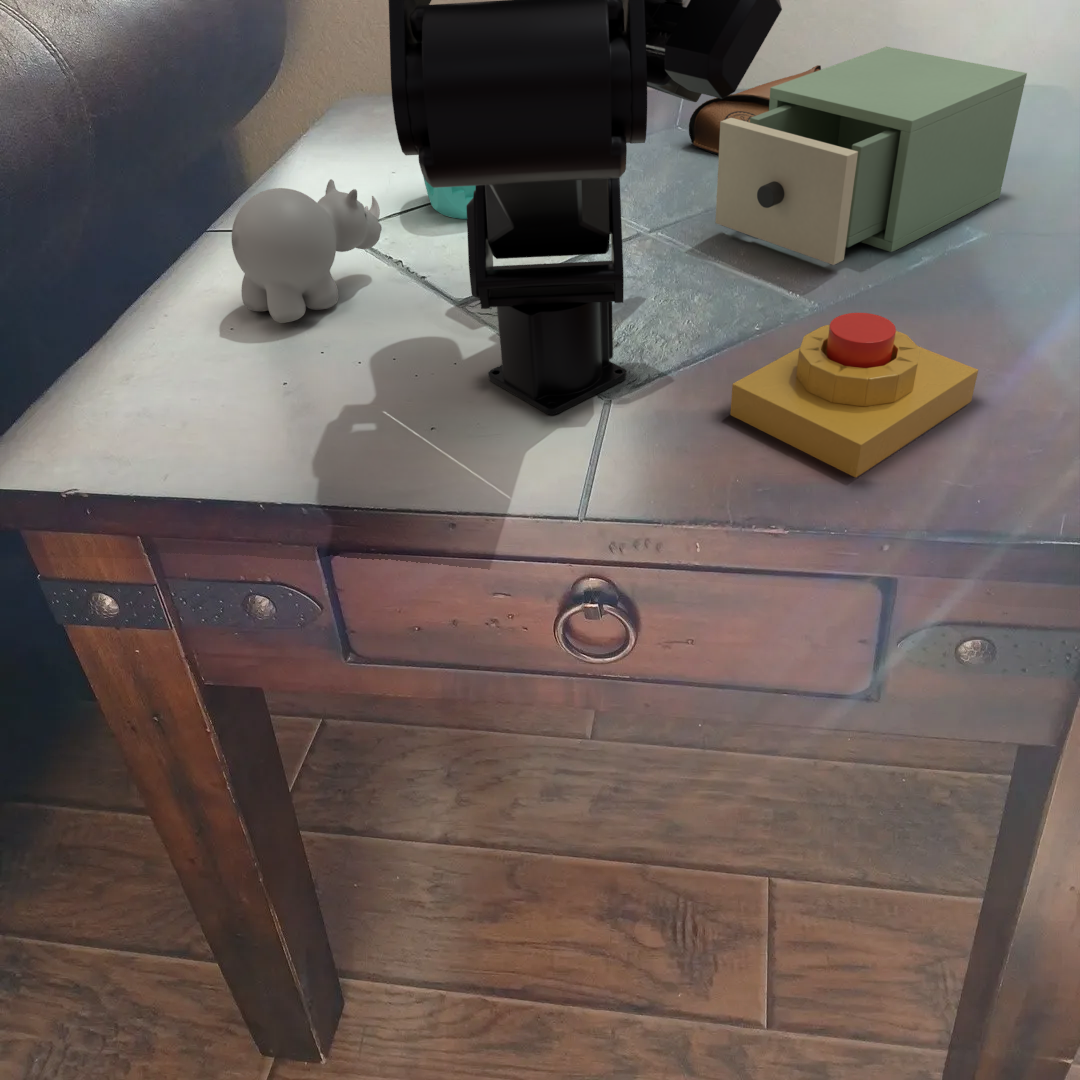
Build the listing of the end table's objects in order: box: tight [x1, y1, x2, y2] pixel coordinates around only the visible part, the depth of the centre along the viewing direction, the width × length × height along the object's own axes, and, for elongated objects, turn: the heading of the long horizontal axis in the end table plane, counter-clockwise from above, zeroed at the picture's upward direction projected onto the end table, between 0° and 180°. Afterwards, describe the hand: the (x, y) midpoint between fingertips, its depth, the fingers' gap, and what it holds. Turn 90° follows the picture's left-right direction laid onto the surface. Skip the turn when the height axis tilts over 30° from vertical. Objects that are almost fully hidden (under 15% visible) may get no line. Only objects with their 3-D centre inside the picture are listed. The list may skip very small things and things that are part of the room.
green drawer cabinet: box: [769, 46, 1028, 253], centre depth 82 cm, size 15×13×10 cm
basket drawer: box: [714, 103, 902, 266], centre depth 79 cm, size 15×11×8 cm
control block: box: [729, 324, 979, 478], centre depth 61 cm, size 11×9×4 cm
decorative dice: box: [422, 175, 476, 220], centre depth 88 cm, size 8×8×8 cm
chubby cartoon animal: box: [231, 178, 382, 324], centre depth 76 cm, size 7×12×8 cm, turn 132°
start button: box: [826, 312, 897, 368], centre depth 59 cm, size 4×4×2 cm
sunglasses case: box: [688, 64, 822, 156], centre depth 100 cm, size 18×7×7 cm
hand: (696, 94), depth 70 cm, fingers closed
